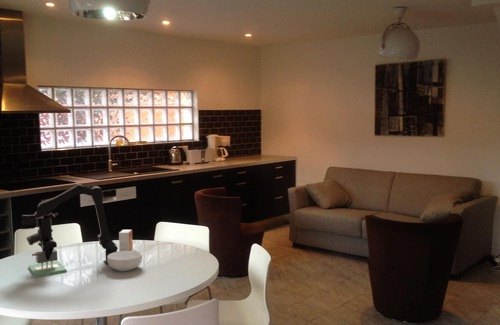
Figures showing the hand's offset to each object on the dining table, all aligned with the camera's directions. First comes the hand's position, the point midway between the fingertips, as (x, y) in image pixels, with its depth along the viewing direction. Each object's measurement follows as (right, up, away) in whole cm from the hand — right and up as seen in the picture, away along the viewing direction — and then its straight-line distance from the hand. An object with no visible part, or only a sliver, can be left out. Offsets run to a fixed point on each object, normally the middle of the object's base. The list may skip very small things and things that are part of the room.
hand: (46, 258), depth 242 cm
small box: (+30, -2, +37) cm, 47 cm away
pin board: (0, -6, +1) cm, 6 cm away
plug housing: (0, -1, 0) cm, 1 cm away
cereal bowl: (+38, -5, +1) cm, 39 cm away
